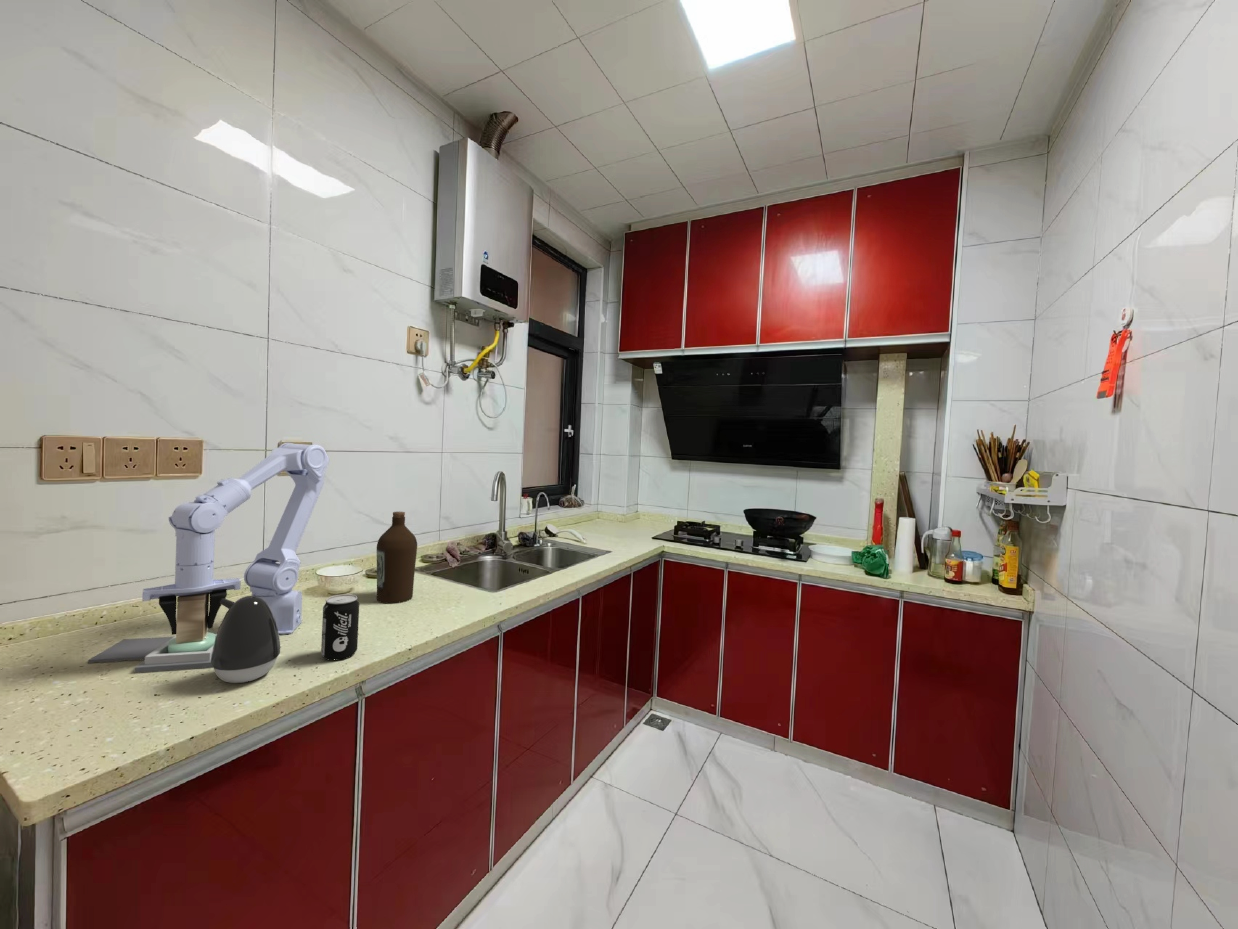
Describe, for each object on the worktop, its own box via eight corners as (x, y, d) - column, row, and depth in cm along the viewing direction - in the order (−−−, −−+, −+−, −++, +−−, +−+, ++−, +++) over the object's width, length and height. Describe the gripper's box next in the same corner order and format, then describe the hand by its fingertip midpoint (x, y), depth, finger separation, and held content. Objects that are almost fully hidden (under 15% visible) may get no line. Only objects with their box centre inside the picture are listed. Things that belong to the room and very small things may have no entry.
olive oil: (410, 591, 144) (414, 509, 144) (418, 601, 136) (422, 514, 135) (371, 595, 138) (375, 510, 137) (377, 606, 129) (381, 515, 129)
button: (221, 642, 100) (221, 630, 99) (204, 657, 93) (204, 644, 93) (180, 645, 97) (180, 632, 97) (159, 660, 91) (159, 646, 91)
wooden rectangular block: (208, 633, 98) (209, 589, 98) (203, 640, 94) (204, 595, 94) (181, 636, 96) (183, 591, 96) (175, 643, 92) (177, 597, 92)
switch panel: (240, 642, 103) (241, 631, 103) (213, 667, 91) (213, 654, 91) (171, 646, 99) (172, 634, 99) (134, 673, 88) (134, 659, 87)
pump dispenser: (240, 662, 94) (243, 586, 94) (292, 666, 94) (295, 590, 93) (193, 687, 84) (196, 602, 83) (250, 692, 84) (253, 607, 83)
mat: (182, 638, 103) (182, 636, 103) (154, 658, 93) (154, 655, 93) (123, 642, 100) (123, 639, 100) (88, 663, 90) (88, 660, 90)
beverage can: (364, 651, 102) (366, 596, 102) (337, 664, 96) (339, 605, 95) (341, 646, 104) (343, 591, 104) (313, 657, 98) (315, 600, 97)
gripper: (239, 554, 102) (236, 616, 103) (144, 562, 92) (142, 631, 93) (242, 561, 97) (240, 626, 98) (142, 570, 87) (140, 643, 88)
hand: (192, 629), depth 95 cm, fingers closed on wooden rectangular block, 5 cm apart
